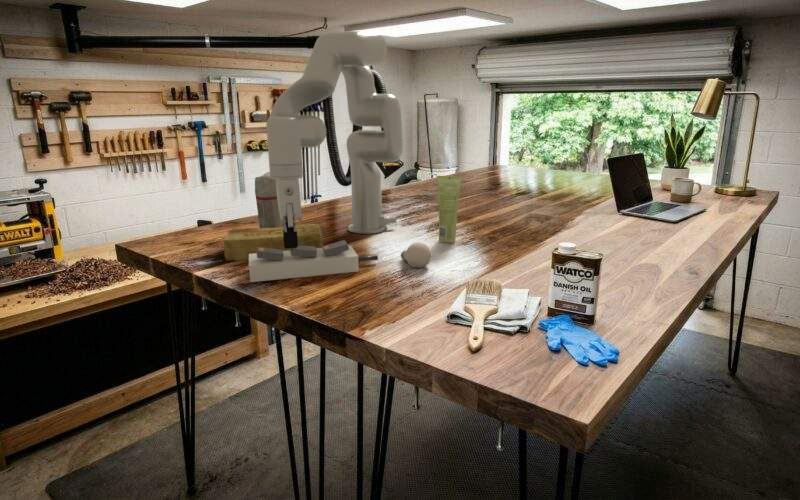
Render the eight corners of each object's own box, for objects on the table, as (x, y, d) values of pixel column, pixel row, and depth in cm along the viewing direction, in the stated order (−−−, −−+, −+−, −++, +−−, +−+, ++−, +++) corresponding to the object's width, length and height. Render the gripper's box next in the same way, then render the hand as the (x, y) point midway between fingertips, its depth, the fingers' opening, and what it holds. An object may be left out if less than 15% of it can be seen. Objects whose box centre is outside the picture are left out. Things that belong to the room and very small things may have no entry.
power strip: (373, 257, 137) (372, 242, 136) (382, 269, 128) (381, 253, 127) (250, 268, 129) (248, 253, 128) (250, 282, 120) (248, 265, 118)
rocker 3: (346, 245, 129) (344, 239, 129) (349, 249, 126) (347, 243, 125) (323, 252, 128) (321, 246, 128) (325, 256, 125) (323, 250, 124)
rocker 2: (314, 252, 128) (315, 245, 127) (316, 256, 124) (316, 250, 123) (290, 251, 126) (290, 244, 125) (291, 255, 122) (291, 249, 122)
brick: (229, 253, 147) (226, 229, 145) (320, 245, 153) (319, 222, 151) (224, 264, 134) (221, 238, 132) (325, 255, 140) (323, 230, 138)
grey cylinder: (280, 241, 154) (274, 175, 148) (255, 239, 155) (248, 174, 149) (291, 233, 161) (286, 171, 156) (267, 232, 163) (261, 170, 157)
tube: (451, 237, 155) (453, 174, 150) (460, 241, 151) (462, 176, 145) (435, 240, 153) (436, 175, 147) (444, 244, 149) (445, 178, 143)
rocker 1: (281, 255, 125) (282, 249, 125) (282, 260, 122) (283, 254, 121) (256, 253, 124) (257, 246, 123) (256, 258, 120) (257, 251, 120)
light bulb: (393, 242, 134) (414, 240, 124) (414, 243, 137) (436, 242, 128) (392, 267, 134) (413, 267, 124) (414, 268, 137) (436, 268, 127)
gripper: (305, 174, 112) (309, 254, 117) (299, 167, 126) (303, 238, 131) (270, 176, 110) (276, 256, 115) (268, 168, 124) (274, 240, 129)
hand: (291, 246), depth 123 cm, fingers closed
